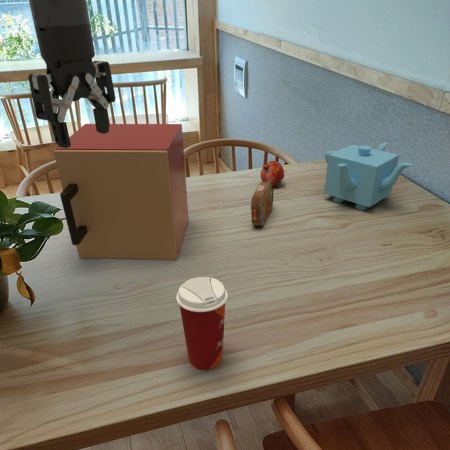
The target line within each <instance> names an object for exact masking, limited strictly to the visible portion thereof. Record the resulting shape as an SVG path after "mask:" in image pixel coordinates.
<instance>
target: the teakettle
mask: <svg viewBox="0 0 450 450" xmlns="http://www.w3.org/2000/svg"><path fill="white" fill-rule="evenodd" d="M388 145H389V143H388V142H387V141H386V142H382V143H379V145H378V146H377V148H376V149H375V148H373V147H372V146H370V145H367V144H364V145H357V144H349V145H348V146H346V147H344V148H343V147H342V148H341V149H339V150H329V151H326V153H324V160H325V162H326V164H327V165H326V173H325V181H324V190H323V194H324V195H328V196H331V197H333V199H332V201H333V202H335V203H343V202H344V201H347V202H351V203H354V204H355V209H357V210H360V211H362V210H366V209H368V208H371V207H372V206H374V205H376V204H377V203H378V202H380V201H382V200H384V199H385V198H386V197H388V196H389V195H391V194H392V191H393V186H394V185H395V184H396V182H397V181H398V179H399V178H400V175H401V174H402V173H403V171H404V170H405V169H406V168H409V167H413V166H414V164H413V163H409V162H401V163H399V164H398V162H399V158H400V155H399V154H396V153H392V152H388V151H385V149H386V148H387V146H388Z"/></svg>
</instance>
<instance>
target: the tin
mask: <svg viewBox="0 0 450 450" xmlns="http://www.w3.org/2000/svg"><path fill="white" fill-rule="evenodd" d="M273 206H274V187H273V184H272V182H263V181H261V182H260V183H259V184H258V186H257V188H256V190H255V191H254V193H253V194H252V197H251V201H250V211H251V224H252V225H253V226H261V227H264V226H265V225H266V223H267V221H268V220H269V218H270V215H271V214H272V210H273Z"/></svg>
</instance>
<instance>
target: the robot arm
mask: <svg viewBox="0 0 450 450" xmlns="http://www.w3.org/2000/svg"><path fill="white" fill-rule="evenodd" d="M28 3H29V8H30V13H31V17H32V23H33V27H34V31H35V35H36V41H37V44H38V49H39V53H40V57H41V59H42V60H43V61H44V63H45V66H46V70H45V73H32V72H31V73H29V74H28V76H27V78H28V83H29V88H30V94H31V99H32V104H33V108H34V109H33V110H34V114H35V117H36V119H38V120H43V121H47V122H49V124H50V127H51V132H52V136H53V141H54V143H55V144H56V145H57V147H58V146H59V147H63V148H68V147H70V146H71V143H70V138H69V137H70V134H69V128H68V124H67V121H65V119H66V116H67V112H68V110H70V108H71V107H72V104H73V102H77V101H79V100H80V99H86V100H87V101H88V102H89V104H91V105H92V107H93V108H92V113H93V119H94V124H95V125H96V130H97V132H98V133H103V134H106V133H108V132H109V124H110V120H109V119H110V118H109V113H108V108H109V106H110V104H111V103H115V102H116V92H115V89H114V82H113V77H112V72H111V67H110V63H109V62H108V61H103V60H93V59H94V58H95V56H96V51H95V45H94V39H93V32H92V25H91V21H90V13H89V7H88V2H87V0H28Z"/></svg>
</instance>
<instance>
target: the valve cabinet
mask: <svg viewBox="0 0 450 450" xmlns="http://www.w3.org/2000/svg"><path fill="white" fill-rule="evenodd" d="M69 138H70V143H71V146H70V147H68V148H63V147H59V146H58V145H57V147H56V148H55V150H167V151H168V161H169V172H170V182H171V193H172V204H173V215H174V225H175V236H176V247H177V259H178V258H179V256H180V251H181V248H182V247H183V242H184V239H185V236H186V233H187V229H188V226H189V222H190V219H189V206H188V205H189V204H188V192H187V179H186V178H187V177H186V165H185V152H184V149H185V148H184V137H183V123H109V132H108V133H106V134H103V133H98V132H97V130H96V125H95V123H85V124H83V125H82V126H81V127H79V129H77V130H76V131H75V132H73V133H72V134H71V135H69Z"/></svg>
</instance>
